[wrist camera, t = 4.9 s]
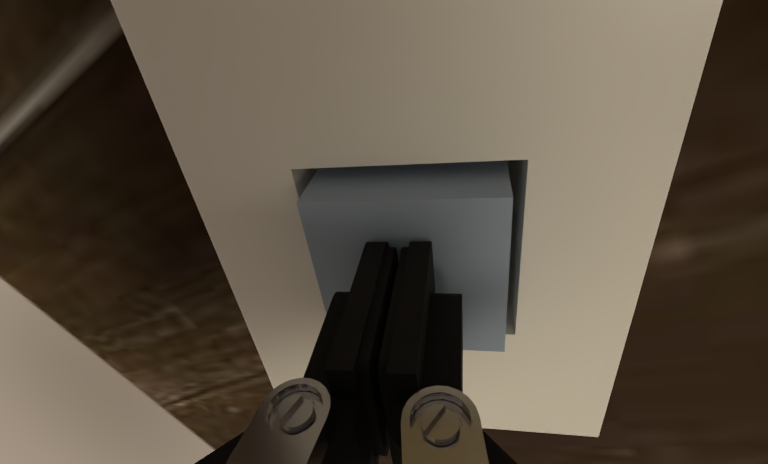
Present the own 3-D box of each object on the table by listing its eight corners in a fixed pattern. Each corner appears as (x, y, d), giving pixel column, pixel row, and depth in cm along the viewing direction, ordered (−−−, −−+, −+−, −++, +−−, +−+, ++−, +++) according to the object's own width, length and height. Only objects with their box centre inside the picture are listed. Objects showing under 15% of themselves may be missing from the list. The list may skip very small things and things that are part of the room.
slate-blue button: (327, 154, 12) (296, 202, 10) (504, 145, 12) (513, 197, 9) (354, 283, 15) (334, 344, 13) (498, 285, 14) (504, 352, 12)
